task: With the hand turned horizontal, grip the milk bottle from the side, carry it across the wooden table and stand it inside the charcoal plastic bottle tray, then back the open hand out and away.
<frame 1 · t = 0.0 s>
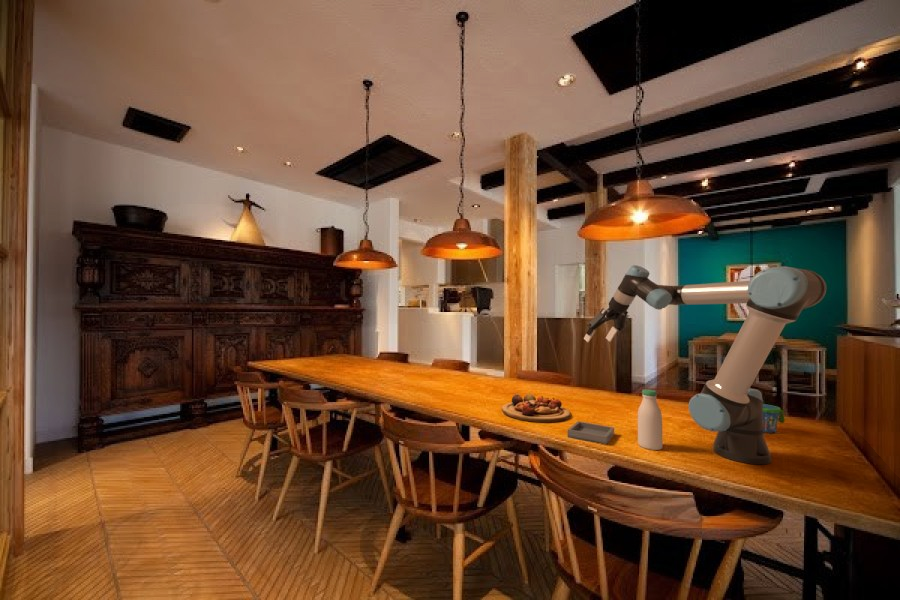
hand: (597, 340, 159), 36 cm above the table, tool tilted 35°, fingers open, 13 cm apart
bottle tray: (591, 435, 139), on the table
snack cup: (763, 431, 148), on the table
milk bottle: (650, 447, 128), on the table
wooden plate with food: (535, 414, 171), on the table
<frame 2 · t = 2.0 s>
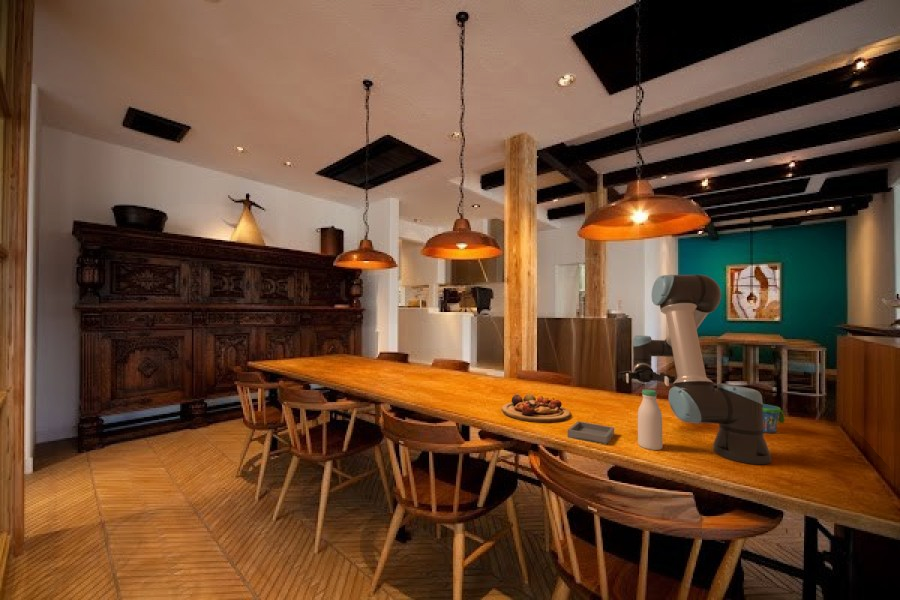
hand: (647, 380, 138), 22 cm above the table, tool horizontal, fingers open, 13 cm apart
nothing on the table moved.
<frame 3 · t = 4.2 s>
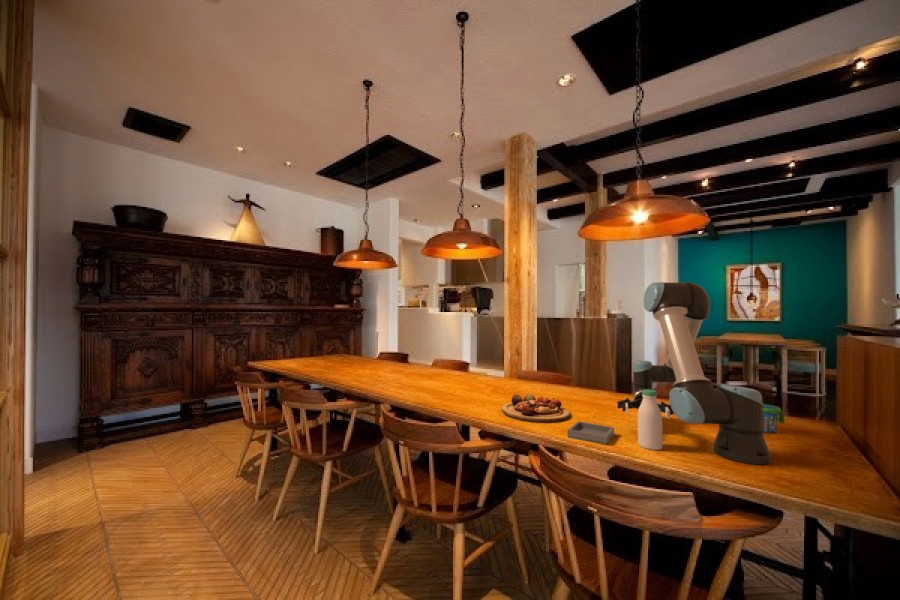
hand: (647, 412, 133), 11 cm above the table, tool horizontal, fingers open, 13 cm apart
nothing on the table moved.
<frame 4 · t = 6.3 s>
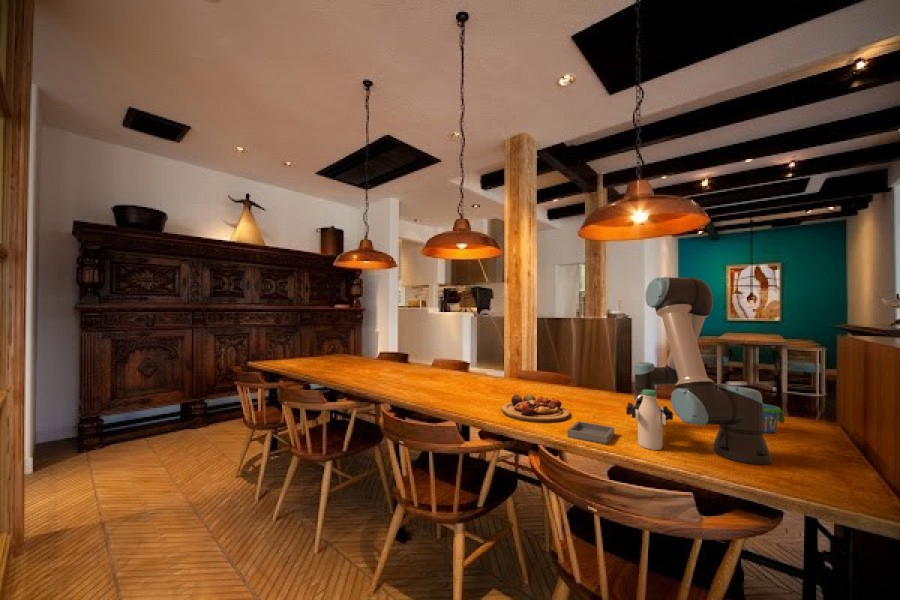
hand: (650, 418, 124), 11 cm above the table, tool horizontal, fingers closed on milk bottle, 8 cm apart
milk bottle: (650, 447, 128), on the table, touching gripper
everything else where it was.
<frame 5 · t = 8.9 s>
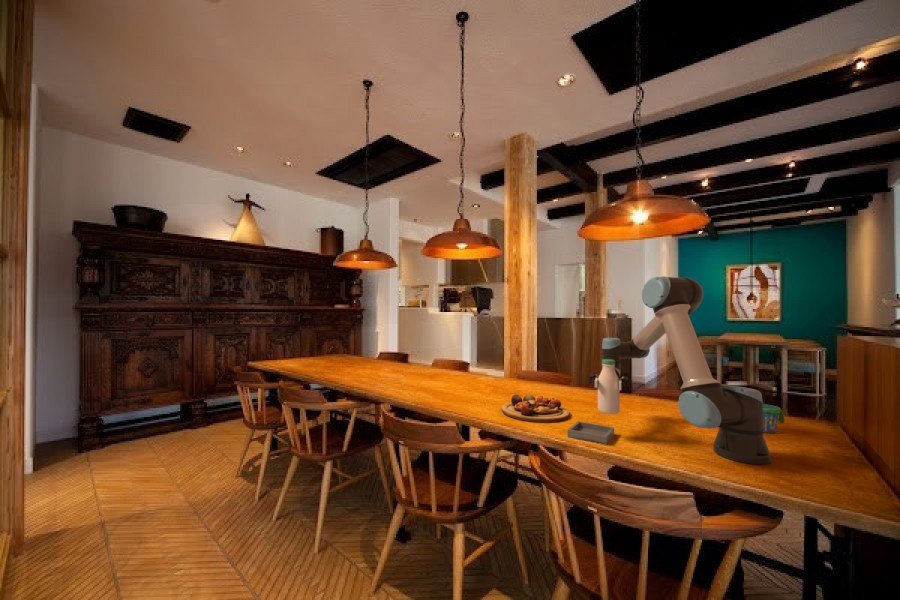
hand: (607, 385, 134), 21 cm above the table, tool horizontal, fingers closed on milk bottle, 8 cm apart
milk bottle: (608, 412, 138), point 10 cm above the table, touching gripper
everything else where it was.
when the fingers open (13 cm above the table, at t = 11.5 s): milk bottle drops 1 cm, resting on bottle tray.
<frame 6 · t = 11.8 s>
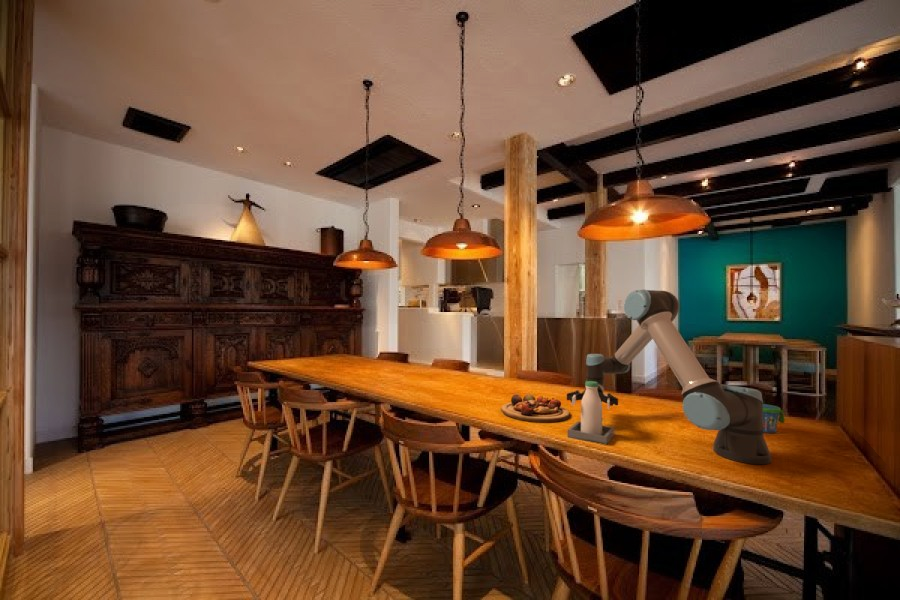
hand: (590, 403, 136), 13 cm above the table, tool horizontal, fingers open, 12 cm apart
milk bottle: (591, 434, 139), point 1 cm above the table, touching bottle tray
everything else where it was.
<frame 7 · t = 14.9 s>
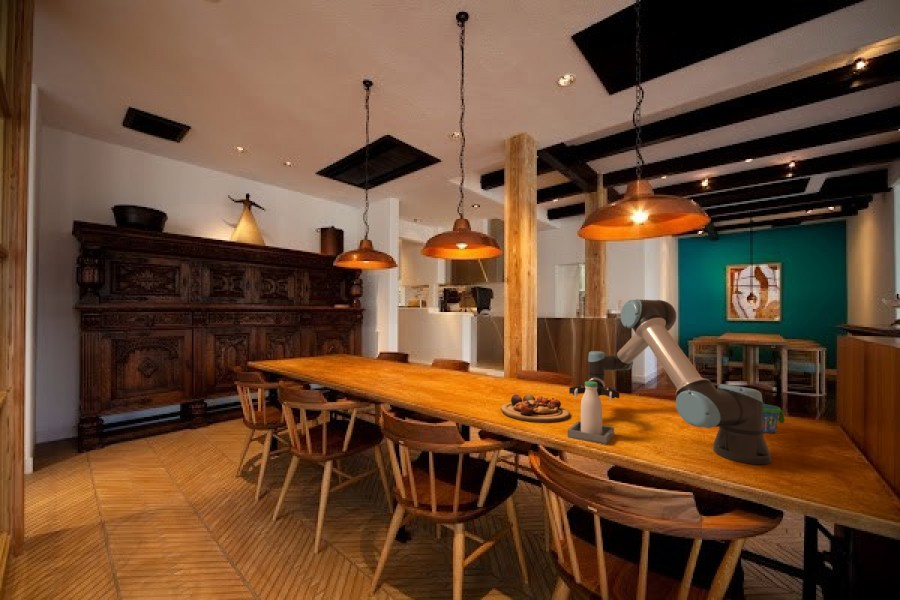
hand: (592, 396, 148), 13 cm above the table, tool horizontal, fingers open, 13 cm apart
nothing on the table moved.
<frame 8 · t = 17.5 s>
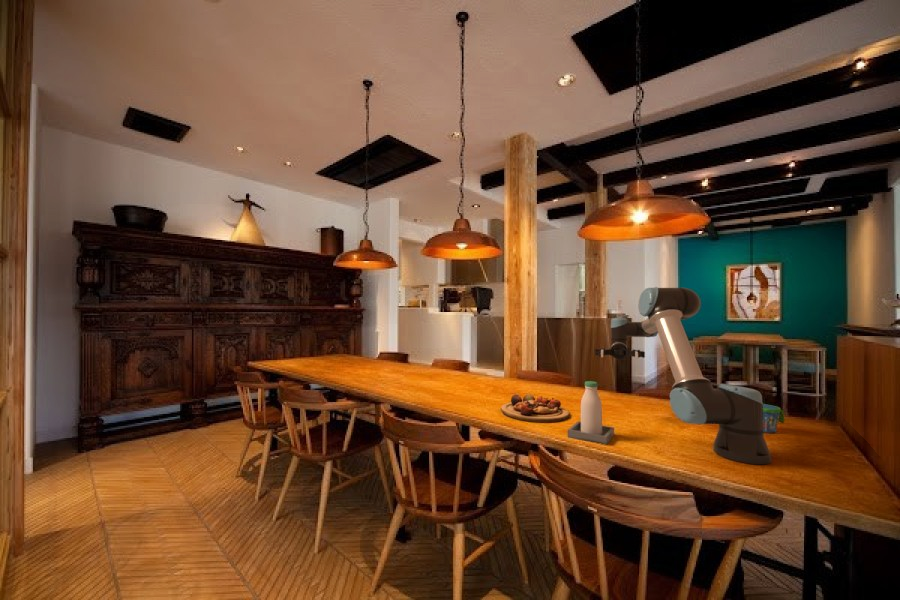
hand: (619, 355, 153), 30 cm above the table, tool horizontal, fingers open, 13 cm apart
nothing on the table moved.
at the end: milk bottle 0.1 cm off-centre on the bottle tray, point 0.6 cm above the bottle tray's base; milk bottle tilted 0°; the gripper is holding nothing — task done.
